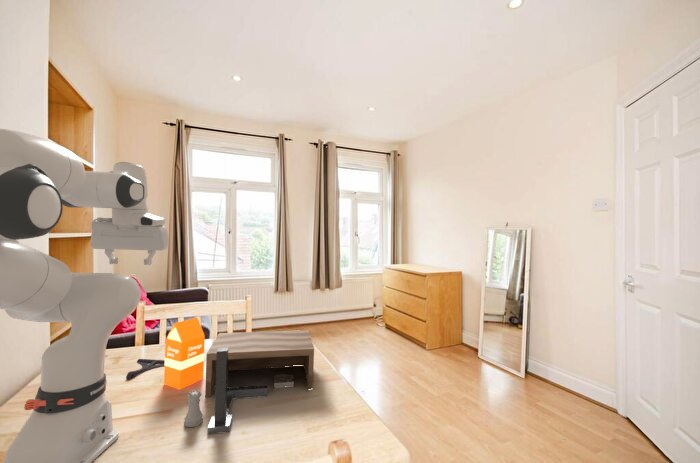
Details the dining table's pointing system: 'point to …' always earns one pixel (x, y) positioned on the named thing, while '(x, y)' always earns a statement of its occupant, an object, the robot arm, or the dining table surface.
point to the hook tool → (228, 394)
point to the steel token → (283, 380)
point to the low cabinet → (261, 353)
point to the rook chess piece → (193, 410)
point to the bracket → (145, 367)
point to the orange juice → (184, 354)
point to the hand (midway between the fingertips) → (130, 264)
